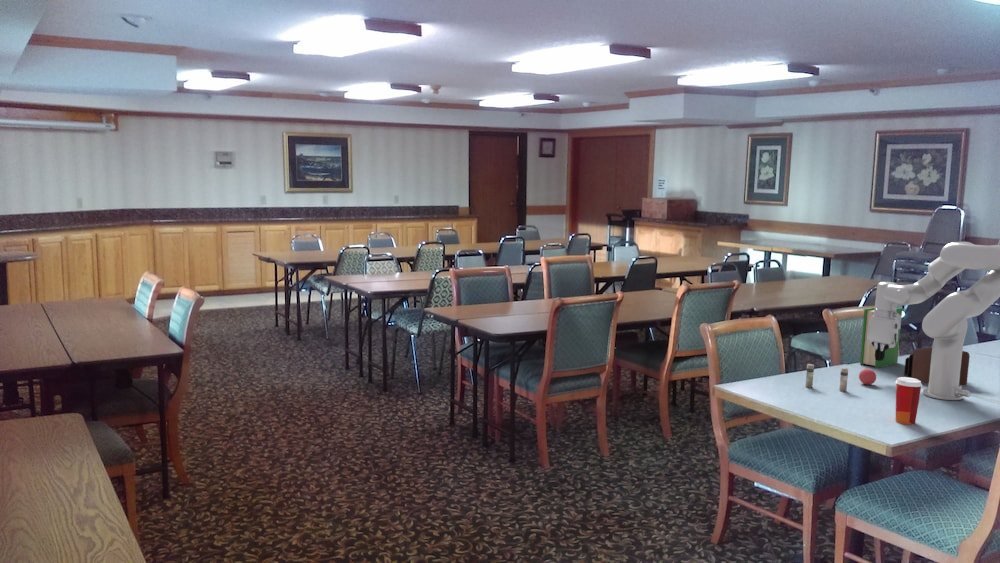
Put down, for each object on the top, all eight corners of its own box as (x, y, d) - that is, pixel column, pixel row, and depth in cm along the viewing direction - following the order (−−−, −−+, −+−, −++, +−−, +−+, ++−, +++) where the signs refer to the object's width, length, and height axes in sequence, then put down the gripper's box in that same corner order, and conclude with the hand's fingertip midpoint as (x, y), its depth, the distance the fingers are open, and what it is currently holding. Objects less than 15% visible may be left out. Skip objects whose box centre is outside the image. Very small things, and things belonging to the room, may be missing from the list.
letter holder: (967, 386, 296) (970, 350, 294) (910, 382, 300) (914, 346, 298) (957, 380, 306) (961, 345, 304) (903, 376, 310) (906, 341, 308)
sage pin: (813, 387, 289) (815, 365, 288) (810, 388, 287) (811, 365, 286) (807, 385, 291) (809, 363, 290) (804, 386, 289) (805, 364, 288)
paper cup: (912, 419, 251) (916, 377, 250) (923, 426, 244) (927, 383, 242) (887, 417, 252) (891, 376, 250) (897, 425, 245) (901, 382, 243)
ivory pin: (847, 391, 284) (849, 368, 283) (844, 392, 283) (846, 369, 282) (841, 389, 286) (843, 367, 285) (837, 390, 285) (839, 368, 284)
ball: (878, 385, 294) (879, 369, 293) (870, 387, 291) (871, 371, 290) (863, 381, 299) (864, 366, 298) (855, 383, 295) (856, 368, 295)
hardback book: (877, 368, 322) (881, 311, 319) (859, 364, 328) (864, 309, 325) (897, 362, 333) (902, 308, 329) (880, 359, 338) (884, 305, 335)
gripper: (909, 316, 293) (903, 363, 296) (871, 309, 305) (865, 354, 308) (899, 318, 289) (893, 365, 292) (861, 311, 301) (855, 356, 304)
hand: (879, 359), depth 300 cm, fingers closed
